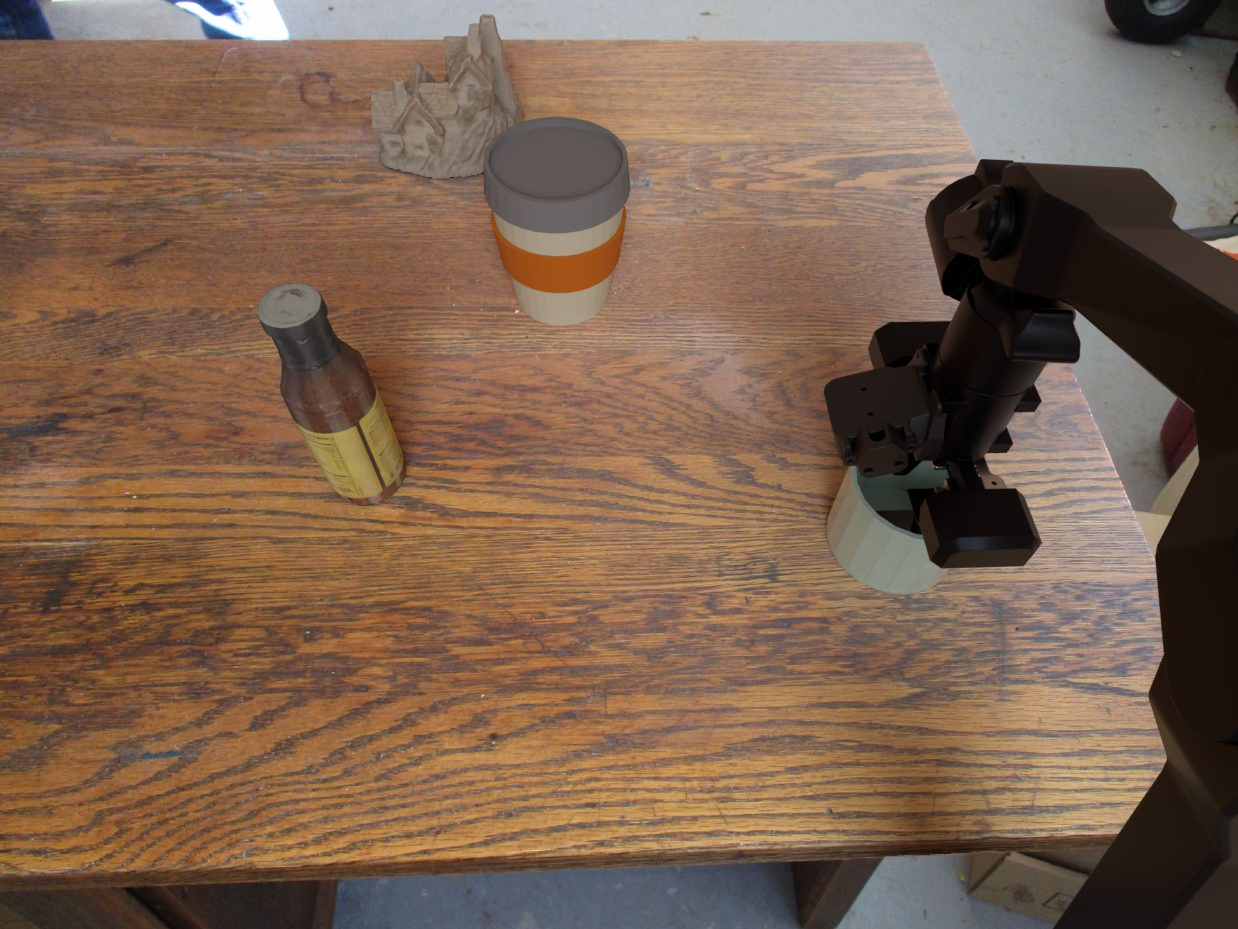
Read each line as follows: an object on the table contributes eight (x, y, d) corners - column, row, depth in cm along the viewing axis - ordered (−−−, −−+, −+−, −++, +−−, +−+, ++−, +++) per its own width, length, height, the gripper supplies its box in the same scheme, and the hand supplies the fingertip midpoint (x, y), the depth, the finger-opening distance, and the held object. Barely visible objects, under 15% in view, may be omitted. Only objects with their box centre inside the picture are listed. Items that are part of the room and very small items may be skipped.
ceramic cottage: (536, 102, 100) (517, -29, 87) (506, 190, 91) (480, 58, 78) (412, 97, 102) (376, -32, 89) (371, 183, 93) (324, 53, 80)
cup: (979, 559, 65) (1022, 504, 58) (880, 616, 62) (914, 564, 55) (896, 468, 70) (926, 407, 63) (801, 516, 67) (822, 458, 60)
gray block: (933, 522, 66) (941, 508, 64) (939, 544, 65) (948, 531, 63) (840, 524, 66) (847, 510, 64) (845, 546, 64) (852, 532, 63)
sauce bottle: (383, 435, 71) (319, 250, 54) (422, 482, 68) (367, 303, 52) (313, 475, 68) (224, 294, 52) (351, 526, 65) (269, 351, 49)
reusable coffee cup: (473, 314, 79) (450, 178, 67) (536, 236, 86) (525, 100, 74) (592, 356, 76) (590, 222, 64) (647, 273, 83) (655, 137, 71)
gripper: (823, 255, 54) (780, 408, 67) (889, 495, 43) (823, 623, 56) (991, 253, 54) (917, 406, 67) (1099, 490, 44) (986, 618, 56)
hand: (908, 503), depth 62 cm, fingers closed on cup, 5 cm apart
